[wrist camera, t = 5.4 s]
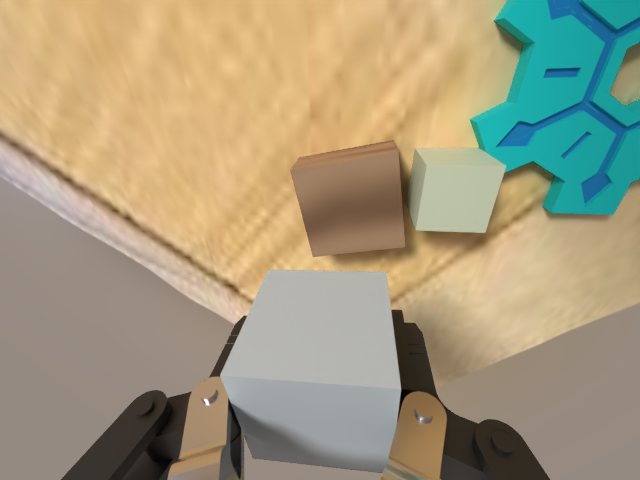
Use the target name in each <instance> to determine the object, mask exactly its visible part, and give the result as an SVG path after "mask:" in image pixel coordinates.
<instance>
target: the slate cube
mask: <svg viewBox="0 0 640 480" xmlns="http://www.w3.org/2000/svg"><path fill="white" fill-rule="evenodd" d="M220 377H221V380H222V382H223V385H224V387H225V390H226V392H227V395H228V397H229V400H230V402H231V405H232V407H233V410H234V412H235V415H236V417H237V420H238V422H239V425H240V427H241V430H242V432H243V435H244V437H245V440H246V442H247V444H248V447H249V450H250V452H251V455H252V457H253V458H254V459H263V460H271V461H280V462H289V463H298V464H308V465H315V466H324V467H333V468H342V469H350V470H360V471H368V472H377V473H383V470H384V467H385V465H386V463H387V460H388V456H389V452H390V449H391V445H392V441H393V437H394V433H395V430H396V426H397V418H398V411H399V403H400V395H401V383H400V375H399V367H398V360H397V352H396V344H395V336H394V328H393V320H392V312H391V305H390V297H389V289H388V281H387V273H386V272H362V271H306V270H268V272H267V274H266V276H265V278H264V280H263V283H262V285H261V287H260V289H259V291H258V293H257V296H256V298H255V300H254V302H253V304H252V307H251V309H250V311H249V313H248V315H247V318H246V320H245V322H244V324H243V326H242V328H241V331H240V333H239V335H238V337H237V339H236V342H235V344H234V346H233V348H232V350H231V353H230V355H229V357H228V359H227V361H226V363H225V366H224V368H223V370H222V372H221V374H220Z"/></svg>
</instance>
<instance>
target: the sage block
mask: <svg viewBox="0 0 640 480" xmlns="http://www.w3.org/2000/svg"><path fill="white" fill-rule="evenodd" d="M505 169H506V165H504V164H503V163H501V162H500V161H498V160H497V159H495V158H494V157H492V156H491V155H489V154H488V153H486V152H485V151H483V150H482V149H480V148H415V149H414V156H413V163H412V170H411V177H410V184H409V191H408V198H407V207H408V210H409V213H410V215H411V218H412V221H413V224H414V227H415V230H417V231H446V232H475V233H485V232H486V229H487V226H488V223H489V220H490V216H491V213H492V210H493V207H494V204H495V201H496V197H497V194H498V191H499V188H500V185H501V181H502V178H503V175H504V172H505Z"/></svg>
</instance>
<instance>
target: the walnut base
mask: <svg viewBox="0 0 640 480" xmlns="http://www.w3.org/2000/svg"><path fill="white" fill-rule="evenodd" d="M290 171H291V175H292V179H293V183H294V186H295V190H296V194H297V198H298V202H299V205H300V209H301V213H302V217H303V221H304V224H305V228H306V232H307V236H308V240H309V244H310V247H311V251H312V255H313V257H317V256H327V255H336V254H346V253H355V252H364V251H374V250H383V249H393V248H402V247H405V236H404V222H403V208H402V194H401V180H400V165H399V152H398V149H397V147H396V145H395V143H394V141H393V140H392V141H387V142H381V143H376V144H370V145H365V146H359V147H354V148H348V149H343V150H338V151H332V152H327V153H321V154H316V155H310V156H305V157H299V159H298V160H297V162H296V163H295V164H294V166H293V167H292V169H291V170H290Z"/></svg>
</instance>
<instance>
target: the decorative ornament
mask: <svg viewBox="0 0 640 480" xmlns="http://www.w3.org/2000/svg"><path fill="white" fill-rule="evenodd" d="M494 21H495V22H496V23H498V24H499V25H500V26H501V27H503V28H504V29H505V30H507V31H508V32H509V33H510V34H512V35H513V36H514V37H516V38H517V39H518V40H519V41H521V42H522V43H523V44H524V45H523V49H522V52H521V55H520V58H519V62H518V65H517V68H516V71H515V75H514V78H513V81H512V84H511V88H510V91H509V94H508V98H507V101H506V102H504V103H502V104H500V105H498V106H496V107H494V108H492V109H490V110H488V111H486V112H484V113H482V114H480V115H478V116H476V117H474V118H472V119H470V121H471V124H472V127H473V130H474V132H475V135H476V138H477V141H478V144H479V147H480V149H482V150H483V151H485V152H486V153H488V154H489V155H491V156H492V157H494V158H495V159H497V160H498V161H500V162H501V163H503V164H504V165H506V169H505V172H508V171H510V170H512V169H515V168H517V167H520V166H522V165H525V164H527V163H530V162H532V161H533V162H534V163H536V164H538V165H539V166H541V167H542V168H544V169H545V170H547V171H548V172H550V173H552V174H553V175H555V177H554V179H553V182H552V184H551V186H550V189H549V191H548V194H547V196H546V199H545V201H544V204H543V207H544V208H545V209H547V210H548V211H549V212H551V213H572V214H612V215H613V214H614V212H615V211H616V209H617V207H618V205H619V204H620V202H621V200H622V198H623V197H624V195H625V193H626V191H627V189H628V188H629V186H630V184H631V182H634V181H637V180H639V179H640V100H637V101H635V102H633V103H631V104H628V105H626V106H624V105H622V104H621V103H620V102H619V101H618V100H616V99H615V98H614V97H613V96H611V95H610V94H609V92H610V90H611V88H612V85H613V83H614V80H615V78H616V75H617V73H618V70H619V68H620V65H621V63H622V61H623V58H624V56H625V53H626V51H627V49H628V48H629V47H631V46H633V45H635V44H637V43H639V42H640V0H508V1H507V2H506V4H505V5H504V7H503V8H502V10H501V11H500V13H499V14H498V16H497V17H496V19H495V20H494ZM505 172H504V173H505Z"/></svg>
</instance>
